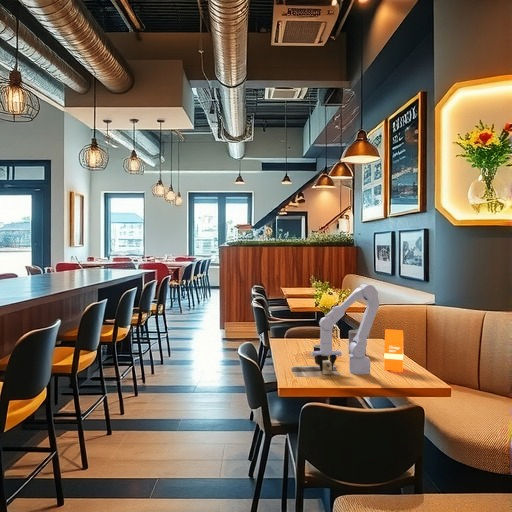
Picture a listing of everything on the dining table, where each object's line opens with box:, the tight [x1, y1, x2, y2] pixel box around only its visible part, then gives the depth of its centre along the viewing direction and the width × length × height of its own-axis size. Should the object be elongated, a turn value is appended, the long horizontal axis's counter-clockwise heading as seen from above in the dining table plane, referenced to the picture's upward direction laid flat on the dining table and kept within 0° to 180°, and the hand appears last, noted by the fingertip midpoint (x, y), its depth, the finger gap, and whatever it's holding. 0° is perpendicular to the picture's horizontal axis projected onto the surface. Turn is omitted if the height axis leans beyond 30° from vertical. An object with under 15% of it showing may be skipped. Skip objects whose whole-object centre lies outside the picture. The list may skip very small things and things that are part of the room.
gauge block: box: [321, 359, 332, 374], centre depth 217 cm, size 4×8×5 cm, turn 4°
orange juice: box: [383, 328, 404, 373], centre depth 230 cm, size 8×9×20 cm
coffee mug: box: [312, 344, 330, 365], centre depth 237 cm, size 12×9×10 cm
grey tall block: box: [348, 328, 367, 356], centre depth 263 cm, size 10×10×15 cm
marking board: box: [290, 365, 342, 378], centre depth 217 cm, size 22×12×3 cm, turn 94°
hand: (326, 370), depth 218 cm, fingers closed on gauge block, 4 cm apart
